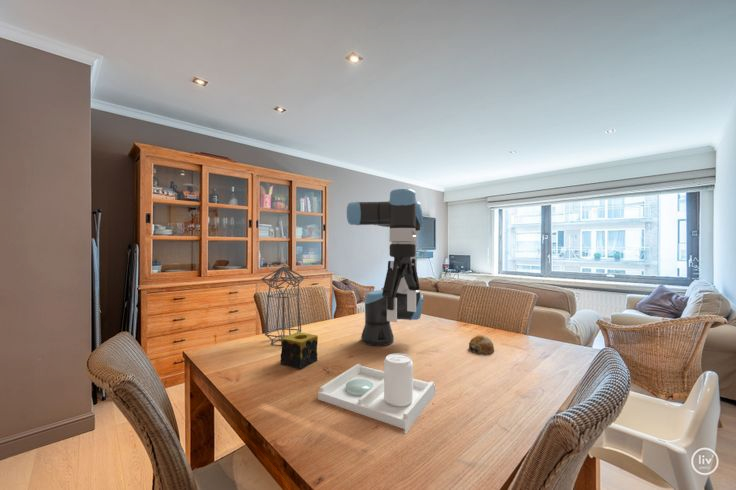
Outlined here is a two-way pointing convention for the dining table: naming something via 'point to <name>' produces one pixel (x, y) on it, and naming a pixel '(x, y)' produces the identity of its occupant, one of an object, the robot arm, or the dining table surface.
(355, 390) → the pale green smooth oval
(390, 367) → the beverage can
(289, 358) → the candle
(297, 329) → the geometric lantern
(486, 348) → the bread roll
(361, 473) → the dining table surface
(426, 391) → the divided white tray
